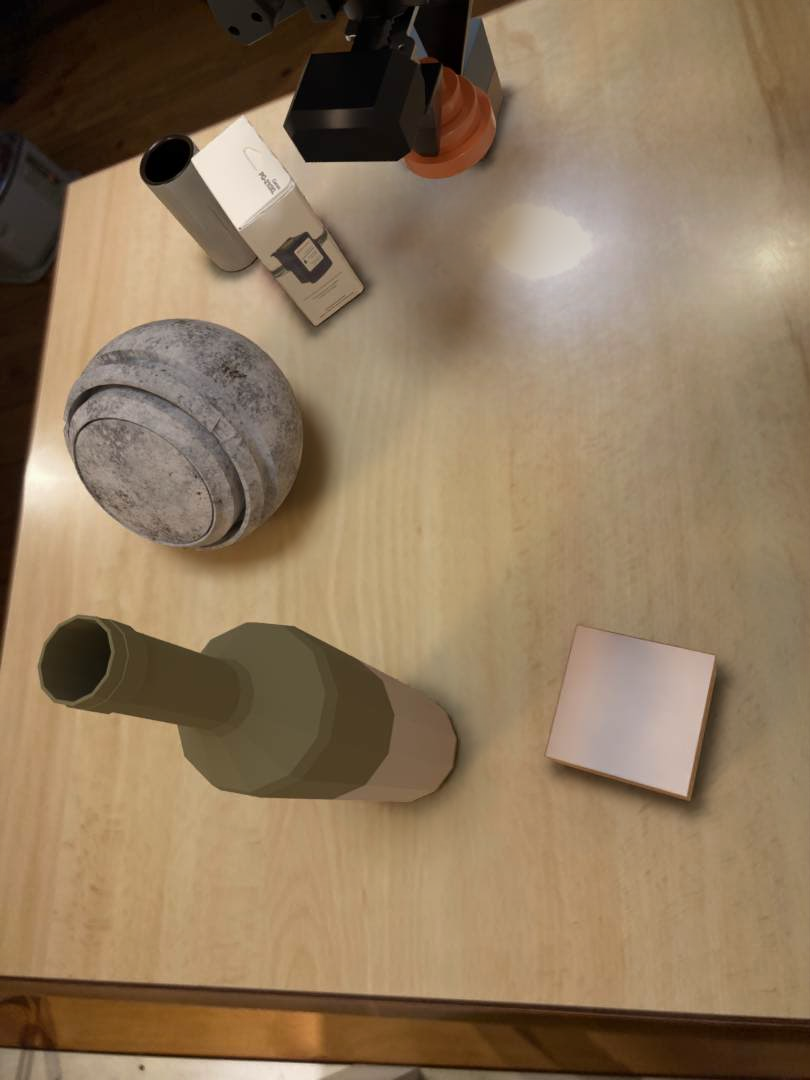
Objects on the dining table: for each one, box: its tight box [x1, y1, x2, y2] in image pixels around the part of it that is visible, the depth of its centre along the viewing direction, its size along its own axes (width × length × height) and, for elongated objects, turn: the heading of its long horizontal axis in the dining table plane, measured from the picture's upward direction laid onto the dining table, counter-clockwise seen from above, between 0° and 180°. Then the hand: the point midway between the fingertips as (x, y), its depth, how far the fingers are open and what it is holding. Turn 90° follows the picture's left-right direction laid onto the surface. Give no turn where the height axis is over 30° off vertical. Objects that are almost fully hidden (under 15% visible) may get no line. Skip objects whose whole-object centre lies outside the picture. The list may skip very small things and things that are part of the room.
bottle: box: [37, 613, 458, 803], centre depth 37 cm, size 7×7×30 cm
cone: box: [401, 57, 497, 180], centre depth 48 cm, size 6×6×5 cm
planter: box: [138, 132, 258, 272], centre depth 64 cm, size 4×4×10 cm
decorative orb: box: [62, 318, 304, 552], centre depth 54 cm, size 15×14×15 cm
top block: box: [410, 17, 496, 94], centre depth 60 cm, size 6×6×4 cm
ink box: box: [191, 114, 364, 327], centre depth 60 cm, size 8×5×12 cm, turn 31°
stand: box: [544, 624, 717, 802], centre depth 44 cm, size 7×7×6 cm
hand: (441, 118), depth 49 cm, fingers closed on cone, 5 cm apart
